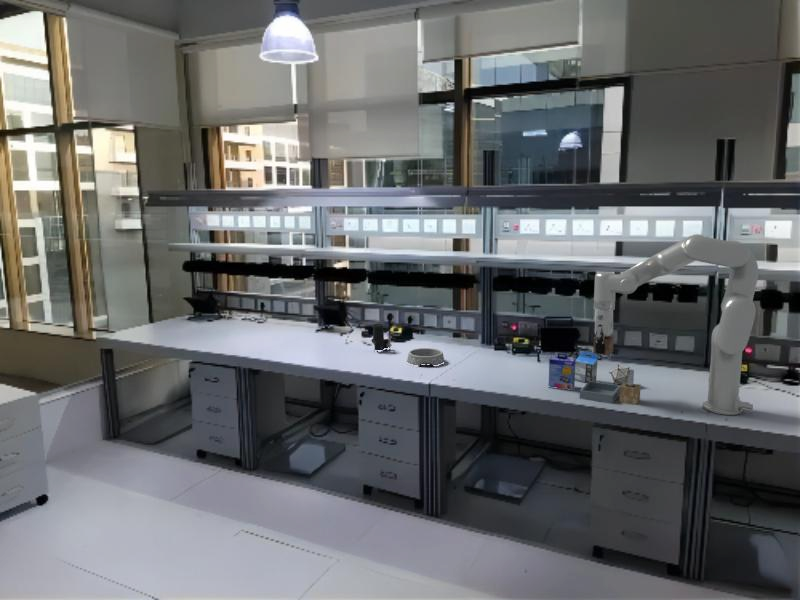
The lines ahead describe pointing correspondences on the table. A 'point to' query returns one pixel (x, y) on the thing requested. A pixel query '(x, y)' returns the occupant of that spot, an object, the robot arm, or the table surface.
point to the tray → (600, 392)
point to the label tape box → (586, 367)
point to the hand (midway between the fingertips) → (602, 351)
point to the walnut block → (608, 345)
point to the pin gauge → (630, 378)
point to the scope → (380, 338)
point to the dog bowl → (425, 356)
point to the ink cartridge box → (562, 372)
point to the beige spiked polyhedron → (620, 375)
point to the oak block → (630, 394)
